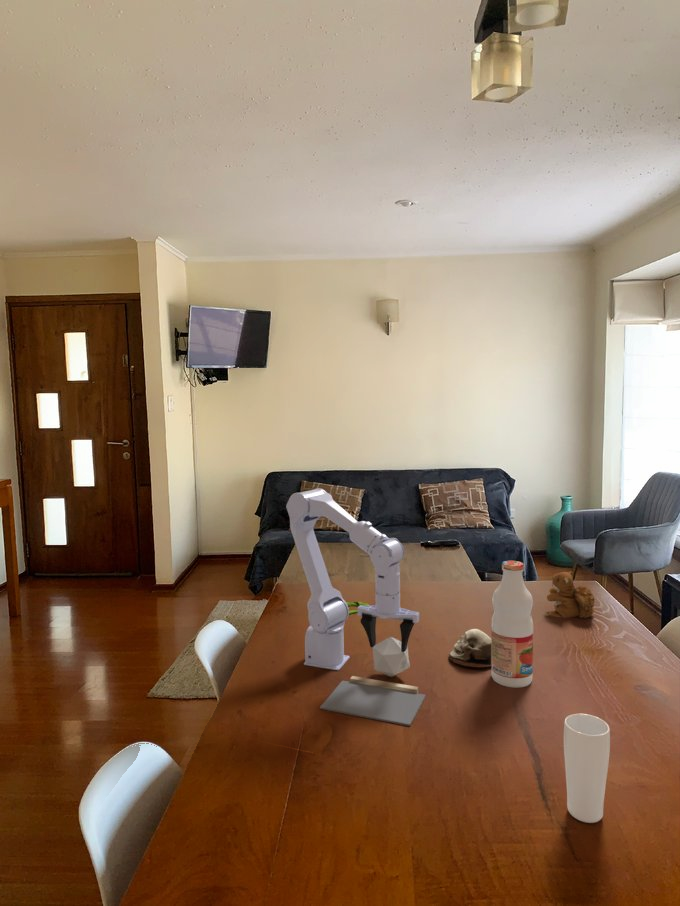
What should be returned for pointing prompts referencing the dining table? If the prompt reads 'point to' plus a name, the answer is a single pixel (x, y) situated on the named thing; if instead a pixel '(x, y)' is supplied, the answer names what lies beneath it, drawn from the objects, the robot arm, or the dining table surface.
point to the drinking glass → (586, 765)
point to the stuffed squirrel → (570, 597)
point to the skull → (472, 649)
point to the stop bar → (384, 684)
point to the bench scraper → (374, 702)
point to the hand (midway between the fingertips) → (388, 647)
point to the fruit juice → (512, 629)
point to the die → (390, 657)
